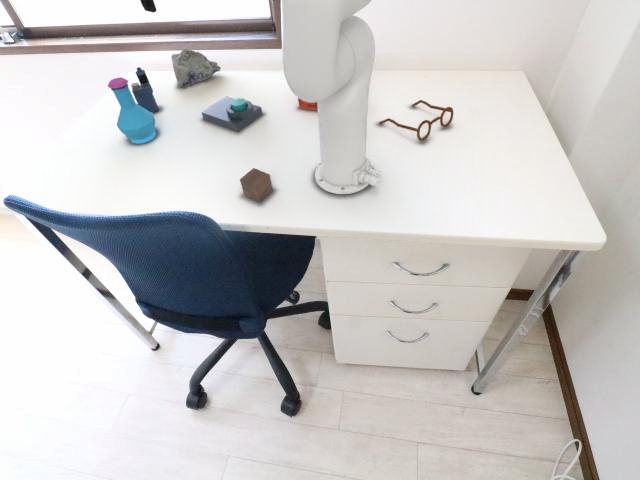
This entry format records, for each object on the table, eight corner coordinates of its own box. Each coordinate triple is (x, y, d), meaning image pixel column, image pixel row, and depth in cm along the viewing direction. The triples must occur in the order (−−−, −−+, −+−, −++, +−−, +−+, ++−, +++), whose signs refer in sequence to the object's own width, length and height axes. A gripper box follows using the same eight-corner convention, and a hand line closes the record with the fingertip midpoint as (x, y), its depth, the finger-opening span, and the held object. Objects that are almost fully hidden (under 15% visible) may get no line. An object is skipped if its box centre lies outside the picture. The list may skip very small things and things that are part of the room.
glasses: (418, 145, 89) (421, 126, 85) (378, 124, 96) (379, 106, 92) (452, 124, 94) (457, 105, 90) (413, 105, 101) (415, 87, 97)
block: (273, 190, 81) (269, 174, 78) (259, 202, 79) (255, 186, 75) (257, 184, 83) (253, 167, 79) (244, 195, 80) (239, 179, 77)
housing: (263, 114, 103) (261, 101, 100) (239, 132, 97) (236, 118, 94) (228, 103, 108) (224, 90, 105) (203, 119, 103) (199, 106, 100)
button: (250, 106, 99) (248, 100, 98) (240, 113, 97) (238, 107, 95) (239, 102, 101) (237, 96, 99) (228, 109, 98) (227, 103, 97)
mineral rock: (223, 74, 121) (215, 41, 114) (211, 90, 114) (202, 56, 107) (187, 73, 123) (176, 41, 116) (173, 88, 116) (161, 55, 109)
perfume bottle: (150, 147, 95) (123, 91, 84) (118, 145, 97) (88, 89, 85) (166, 127, 101) (144, 72, 90) (136, 125, 103) (110, 71, 91)
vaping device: (160, 110, 107) (143, 69, 99) (142, 115, 106) (123, 73, 97) (160, 106, 109) (143, 65, 100) (141, 111, 108) (122, 69, 99)
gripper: (106, -95, 61) (148, 20, 74) (185, -111, 70) (209, -6, 83) (80, -97, 64) (124, 14, 77) (158, -111, 73) (186, -10, 86)
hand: (168, 3), depth 80 cm, fingers open, 9 cm apart
